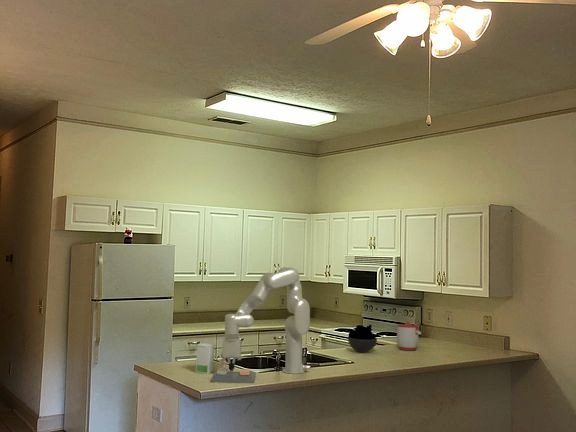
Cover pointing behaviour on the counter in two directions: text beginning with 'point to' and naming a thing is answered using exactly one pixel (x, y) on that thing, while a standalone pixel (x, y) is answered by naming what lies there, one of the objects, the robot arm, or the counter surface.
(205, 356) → the skincare box
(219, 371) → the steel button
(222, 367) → the birch paddle
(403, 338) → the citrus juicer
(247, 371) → the terracotta button
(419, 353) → the counter surface
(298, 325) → the robot arm
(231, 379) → the switch panel
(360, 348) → the bowl of black rocks
